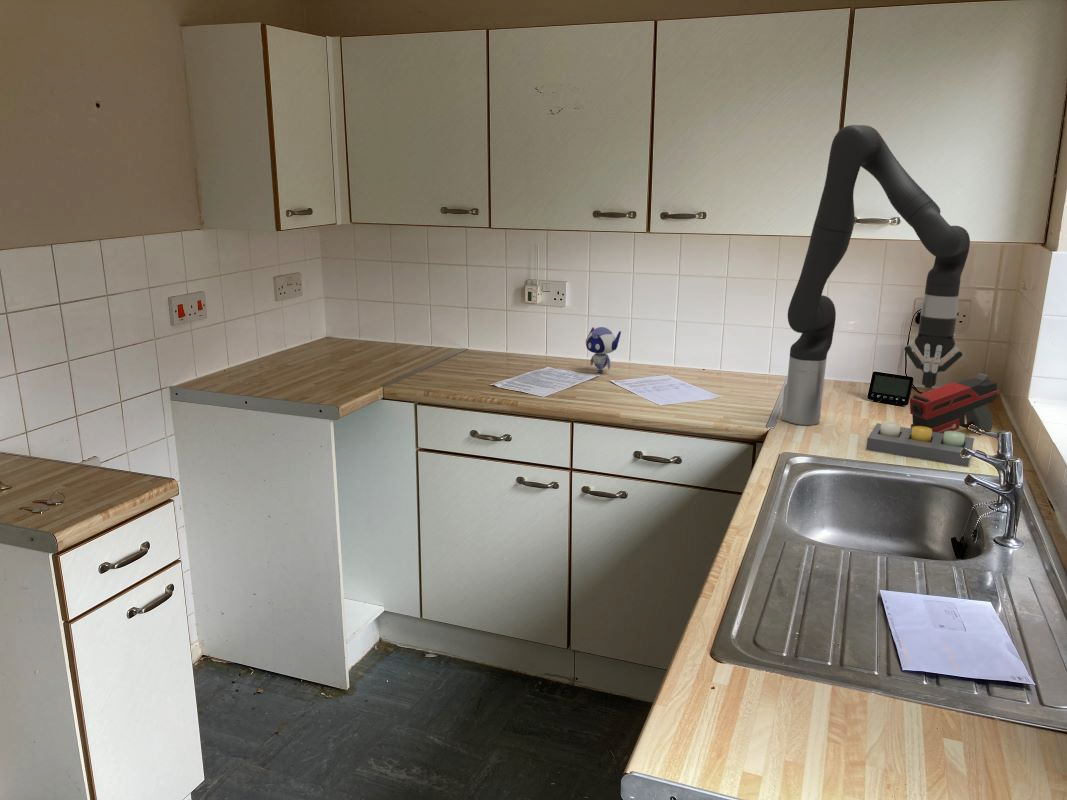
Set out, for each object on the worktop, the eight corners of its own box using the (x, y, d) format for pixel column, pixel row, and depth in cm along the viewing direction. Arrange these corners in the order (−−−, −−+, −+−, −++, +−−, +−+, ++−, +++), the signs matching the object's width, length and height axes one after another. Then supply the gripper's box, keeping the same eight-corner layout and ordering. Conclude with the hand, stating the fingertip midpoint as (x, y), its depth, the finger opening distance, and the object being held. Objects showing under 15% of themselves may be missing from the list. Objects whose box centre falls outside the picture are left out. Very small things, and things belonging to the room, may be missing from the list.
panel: (865, 449, 203) (867, 437, 202) (875, 434, 215) (877, 423, 214) (967, 466, 193) (969, 454, 192) (972, 449, 204) (974, 438, 204)
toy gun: (999, 428, 218) (998, 374, 213) (926, 457, 212) (924, 401, 207) (982, 422, 223) (981, 369, 218) (910, 450, 217) (907, 396, 212)
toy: (577, 373, 272) (579, 327, 268) (594, 367, 280) (595, 323, 276) (606, 378, 267) (608, 331, 262) (622, 372, 274) (624, 327, 270)
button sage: (941, 448, 199) (943, 434, 198) (943, 443, 203) (945, 429, 202) (962, 452, 197) (964, 437, 196) (963, 446, 201) (965, 432, 200)
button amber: (909, 443, 203) (911, 429, 202) (911, 438, 206) (913, 424, 205) (929, 446, 200) (931, 432, 199) (931, 441, 204) (933, 427, 203)
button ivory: (878, 438, 206) (879, 424, 205) (881, 433, 210) (882, 420, 209) (897, 441, 204) (899, 427, 203) (900, 436, 207) (902, 423, 207)
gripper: (905, 313, 195) (895, 386, 200) (969, 319, 189) (958, 394, 193) (909, 309, 201) (900, 380, 206) (971, 314, 195) (960, 387, 200)
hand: (928, 387), depth 200 cm, fingers closed
